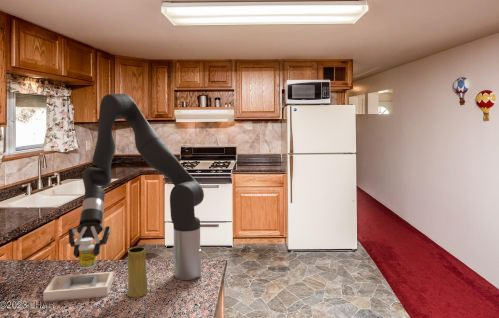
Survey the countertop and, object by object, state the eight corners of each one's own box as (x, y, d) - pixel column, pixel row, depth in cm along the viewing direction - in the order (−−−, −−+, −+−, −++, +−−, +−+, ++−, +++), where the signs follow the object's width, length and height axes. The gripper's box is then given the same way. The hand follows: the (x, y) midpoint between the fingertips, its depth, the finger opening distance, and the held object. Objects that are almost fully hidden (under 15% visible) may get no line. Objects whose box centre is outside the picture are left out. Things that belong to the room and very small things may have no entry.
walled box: (113, 280, 117) (113, 271, 117) (107, 295, 107) (107, 286, 106) (55, 285, 113) (55, 276, 113) (43, 302, 103) (43, 292, 102)
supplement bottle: (95, 261, 123) (93, 235, 122) (98, 266, 118) (96, 239, 117) (78, 265, 120) (76, 238, 119) (80, 270, 115) (79, 242, 114)
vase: (151, 290, 111) (150, 247, 109) (139, 299, 105) (138, 254, 103) (135, 287, 113) (134, 245, 111) (123, 295, 107) (121, 251, 105)
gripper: (68, 208, 123) (60, 253, 112) (111, 206, 126) (106, 249, 115) (73, 219, 128) (66, 262, 118) (114, 216, 132) (110, 258, 121)
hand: (86, 256), depth 117 cm, fingers closed on supplement bottle, 5 cm apart
